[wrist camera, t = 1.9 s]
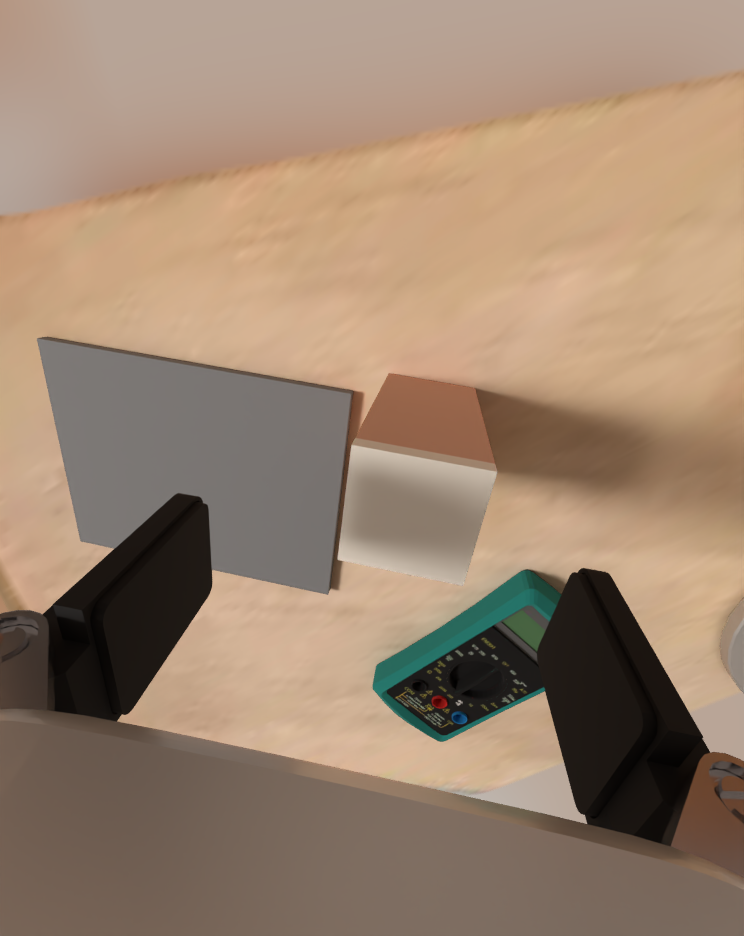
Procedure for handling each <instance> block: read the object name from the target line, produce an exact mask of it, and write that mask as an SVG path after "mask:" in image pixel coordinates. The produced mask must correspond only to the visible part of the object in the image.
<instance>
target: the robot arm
mask: <svg viewBox="0 0 744 936" xmlns="http://www.w3.org/2000/svg"><path fill="white" fill-rule="evenodd" d="M211 588H212V565H211V546H210V526H209V509H208V505H207V504H205V503H203V500H202V498H201V497H198V496H193V495H187V494H182V493H177V494H175V495H174V496H173V497H172V498H171V499H169V500H168V501H167V502H166V503H165V504H164V505H163V506H162V507H161V508H159V509H158V510H157V511H156V512H155V513H154V514H153V515H152V516H151V517H149V518H148V519H147V520H146V521H145V522H144V523H143V524H142V525H141V526H139V527H138V528H137V529H136V530H135V531H134V532H133V533H132V534H131V535H129V536H128V537H127V538H126V539H125V540H124V541H123V542H122V543H121V544H119V545H118V546H117V547H116V548H115V549H114V550H113V551H112V552H111V553H109V554H108V555H107V556H106V557H105V558H104V559H103V560H102V561H101V562H99V563H98V564H97V565H96V566H95V567H94V568H93V569H92V570H91V571H89V572H88V573H87V574H86V575H85V576H84V577H83V578H82V579H81V580H79V581H78V582H77V583H76V584H75V585H74V586H73V587H72V588H71V589H69V590H68V591H67V592H66V593H65V594H64V595H63V596H62V597H61V598H59V599H58V600H57V601H56V602H55V603H54V604H53V605H52V606H51V607H50V608H49V609H48V610H47V611H46V612H45V613H44V614H41V613H38V612H34V611H31V610H17V611H11V612H5V613H2V614H0V936H744V761H742V760H741V759H738V758H736V757H733V756H731V755H728V754H726V753H719V752H712V753H710V751H709V749H708V748H707V746H706V744H705V742H704V741H703V739H702V738H703V736H702V734H701V732H700V731H699V729H698V728H697V726H696V724H695V722H694V720H693V719H692V717H691V715H690V713H689V712H688V710H687V708H686V706H685V705H684V703H683V701H682V699H681V698H680V696H679V694H678V692H677V691H676V689H675V687H674V685H673V684H672V682H671V680H670V678H669V677H668V675H667V673H666V672H665V670H664V668H663V666H662V665H661V663H660V661H659V659H658V658H657V656H656V654H655V652H654V651H653V649H652V647H651V645H650V644H649V642H648V640H647V638H646V637H645V635H644V633H643V631H642V630H641V628H640V626H639V624H638V623H637V621H636V619H635V617H634V616H633V614H632V612H631V611H630V609H629V607H628V605H627V604H626V602H625V600H624V598H623V597H622V595H621V593H620V591H619V590H618V588H617V586H616V584H615V583H614V581H613V579H612V577H611V576H610V575H609V573H606V572H602V571H597V570H591V569H586V568H582V569H580V570H579V571H578V573H575V572H574V573H572V574H571V575H570V577H569V579H568V582H567V584H566V586H565V588H564V590H563V593H562V595H561V597H560V599H559V602H558V604H557V606H556V608H555V610H554V613H553V615H552V617H551V619H550V622H549V624H548V626H547V628H546V630H545V633H544V635H543V637H542V639H541V642H540V644H539V646H538V650H537V662H538V666H539V670H540V673H541V677H542V681H543V685H544V688H545V692H546V696H547V700H548V703H549V707H550V711H551V715H552V718H553V722H554V726H555V730H556V733H557V737H558V741H559V745H560V748H561V752H562V756H563V760H564V763H565V767H566V771H567V775H568V778H569V782H570V786H571V789H572V793H573V797H574V801H575V804H576V807H577V809H578V811H579V812H580V813H581V814H584V815H585V817H586V820H587V824H584V823H580V822H576V821H572V820H567V819H563V818H560V817H555V816H551V815H547V814H543V813H538V812H533V811H529V810H525V809H520V808H516V807H511V806H507V805H503V804H498V803H493V802H489V801H485V800H480V799H475V798H471V797H467V796H462V795H458V794H453V793H449V792H445V791H440V790H436V789H431V788H427V787H422V786H418V785H413V784H409V783H404V782H399V781H395V780H390V779H386V778H381V777H377V776H372V775H367V774H363V773H358V772H354V771H349V770H345V769H340V768H335V767H331V766H326V765H322V764H317V763H312V762H308V761H303V760H299V759H294V758H289V757H285V756H280V755H276V754H271V753H266V752H261V751H257V750H252V749H247V748H243V747H238V746H233V745H228V744H224V743H219V742H214V741H210V740H205V739H200V738H195V737H191V736H186V735H181V734H177V733H172V732H167V731H162V730H158V729H152V728H147V727H142V726H137V725H132V724H126V723H121V722H117V720H118V719H119V718H120V716H121V715H122V714H123V715H126V714H128V713H129V712H130V711H131V710H132V709H133V708H134V706H135V705H136V703H137V702H138V700H139V699H140V697H141V696H142V694H143V693H144V691H145V690H146V688H147V687H148V685H149V684H150V682H151V681H152V679H153V678H154V676H155V675H156V673H157V672H158V671H159V669H160V668H161V666H162V665H163V663H164V662H165V660H166V659H167V657H168V656H169V654H170V653H171V651H172V650H173V648H174V647H175V645H176V644H177V642H178V641H179V639H180V638H181V636H182V635H183V633H184V632H185V630H186V629H187V627H188V626H189V624H190V623H191V621H192V620H193V618H194V617H195V615H196V614H197V612H198V611H199V609H200V608H201V606H202V605H203V603H204V602H205V600H206V599H207V597H208V596H209V594H210V591H211ZM720 653H721V660H722V662H723V664H724V666H725V668H726V671H727V672H728V674H729V675H730V676H731V678H732V679H733V681H734V682H735V683H736V685H737V686H738V688H739V689H740V690H741V691H742V692H743V693H744V598H743V599H742V600H741V601H740V603H739V604H738V605H737V606H736V608H735V609H734V610H733V612H732V613H731V614H730V615H729V617H728V620H727V622H726V624H725V626H724V628H723V630H722V635H721V640H720Z"/></svg>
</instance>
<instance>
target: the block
mask: <svg viewBox="0 0 744 936" xmlns="http://www.w3.org/2000/svg"><path fill="white" fill-rule="evenodd" d="M496 475H497V468H496V465H495V461H494V457H493V453H492V450H491V446H490V442H489V439H488V435H487V431H486V427H485V424H484V420H483V416H482V413H481V409H480V405H479V401H478V398H477V394H476V390H475V388H471V387H466V386H460V385H454V384H448V383H442V382H436V381H431V380H425V379H419V378H413V377H407V376H401V375H396V374H390V373H389V374H388V376H387V378H386V380H385V382H384V384H383V386H382V387H381V389H380V391H379V393H378V395H377V397H376V399H375V401H374V403H373V405H372V407H371V408H370V410H369V412H368V414H367V416H366V418H365V420H364V422H363V424H362V426H361V428H360V429H359V431H358V433H357V435H356V437H355V439H354V441H353V443H352V445H351V453H350V461H349V469H348V477H347V485H346V494H345V502H344V510H343V518H342V526H341V534H340V542H339V551H338V559H337V560H341V561H346V562H350V563H355V564H360V565H365V566H369V567H374V568H379V569H384V570H389V571H393V572H398V573H403V574H408V575H413V576H417V577H422V578H427V579H432V580H436V581H441V582H446V583H451V584H456V585H460V586H463V585H464V582H465V578H466V575H467V572H468V568H469V565H470V562H471V558H472V555H473V552H474V548H475V545H476V542H477V538H478V535H479V532H480V528H481V525H482V522H483V518H484V515H485V512H486V508H487V505H488V502H489V498H490V495H491V492H492V489H493V485H494V482H495V479H496Z"/></svg>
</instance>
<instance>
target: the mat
mask: <svg viewBox="0 0 744 936" xmlns="http://www.w3.org/2000/svg"><path fill="white" fill-rule="evenodd" d="M37 341H38V346H39V351H40V355H41V360H42V364H43V369H44V374H45V378H46V383H47V388H48V392H49V397H50V402H51V406H52V411H53V415H54V420H55V425H56V429H57V434H58V439H59V443H60V448H61V453H62V457H63V462H64V467H65V471H66V476H67V480H68V485H69V490H70V494H71V499H72V504H73V508H74V513H75V518H76V522H77V527H78V531H79V536H80V541H82V542H87V543H91V544H96V545H100V546H105V547H110V548H114V549H115V548H116V547H117V546H118V545H119V544H121V543H122V542H123V541H124V540H125V539H126V538H127V537H128V536H129V535H131V534H132V533H133V532H134V531H135V530H136V529H137V528H138V527H139V526H141V525H142V524H143V523H144V522H145V521H146V520H147V519H148V518H149V517H151V516H152V515H153V514H154V513H155V512H156V511H157V510H158V509H159V508H161V507H162V506H163V505H164V504H165V503H166V502H167V501H168V500H169V499H171V498H172V497H173V496H174V495H175V494H177V493H182V494H187V495H193V496H198V497H201V498H202V500H203V503H205V504H207V505H208V509H209V526H210V546H211V565H212V570H216V571H221V572H225V573H230V574H235V575H239V576H244V577H249V578H253V579H258V580H262V581H267V582H272V583H276V584H281V585H286V586H290V587H295V588H300V589H304V590H309V591H313V592H318V593H323V594H327V595H328V593H329V590H330V586H331V577H332V569H333V560H334V552H335V543H336V534H337V526H338V517H339V509H340V500H341V492H342V483H343V475H344V466H345V458H346V449H347V441H348V432H349V424H350V415H351V407H352V398H353V391H351V390H345V389H339V388H334V387H328V386H322V385H317V384H311V383H305V382H300V381H294V380H288V379H283V378H277V377H271V376H266V375H260V374H254V373H249V372H243V371H237V370H231V369H226V368H220V367H214V366H209V365H203V364H197V363H192V362H186V361H180V360H175V359H169V358H163V357H158V356H152V355H146V354H141V353H135V352H129V351H124V350H118V349H112V348H107V347H101V346H95V345H89V344H84V343H78V342H72V341H67V340H61V339H55V338H50V337H42V338H37Z"/></svg>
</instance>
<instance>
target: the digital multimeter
mask: <svg viewBox="0 0 744 936" xmlns="http://www.w3.org/2000/svg"><path fill="white" fill-rule="evenodd" d="M560 597H561V594H560V593H559V592H558V591H556V590H555V589H554V588H553V587H551V586H550V585H549V584H548V583H546V582H545V581H544V580H542V579H541V578H540V577H539V576H537V575H536V574H535V573H533V572H531V571H530V570H524V571H521V572H519V573H518V574H517V575H515V576H514V577H512V578H511V579H510V580H508V581H507V582H505V583H504V584H503V585H501V586H500V587H498V588H497V589H496V590H494V591H493V592H492V593H490V594H489V595H487V596H486V597H485V598H483V599H482V600H481V601H479V602H478V603H476V604H475V605H474V606H472V607H470V608H469V609H467V610H466V611H464V612H463V613H461V614H460V615H458V616H457V617H455V618H454V619H452V620H451V621H449V622H448V623H446V624H445V625H443V626H442V627H440V628H439V629H437V630H435V631H434V632H432V633H430V634H429V635H427V636H425V637H424V638H422V639H420V640H419V641H417V642H415V643H414V644H412V645H411V646H409V647H407V648H406V649H404V650H403V651H401V652H399V653H397V654H395V655H394V656H392V657H390V658H388V659H386V660H385V661H383V662H381V663H379V664H378V665H377V666H376V670H375V676H374V681H373V690H374V691H375V692H376V693H377V694H378V696H379V697H380V698H381V699H382V700H383V701H384V703H385V704H386V705H387V706H388V707H389V708H390V709H391V710H392V711H393V712H394V713H396V714H397V715H398V716H399V717H401V718H402V719H403V720H405V721H406V722H407V723H409V724H411V725H412V726H414V727H415V728H417V729H419V730H420V731H422V732H423V733H425V734H427V735H428V736H430V737H432V738H434V739H435V740H437V741H440V742H443V741H446V740H448V739H450V738H452V737H454V736H456V735H458V734H460V733H462V732H464V731H466V730H468V729H470V728H471V727H473V726H475V725H477V724H479V723H481V722H483V721H485V720H487V719H489V718H491V717H493V716H495V715H497V714H499V713H501V712H503V711H505V710H507V709H509V708H511V707H513V706H515V705H517V704H519V703H521V702H523V701H525V700H527V699H530V698H532V697H534V696H536V695H538V694H540V693H542V692H544V691H545V688H544V685H543V681H542V677H541V673H540V670H539V666H538V662H537V650H538V646H539V644H540V642H541V639H542V637H543V635H544V633H545V630H546V628H547V626H548V624H549V622H550V619H551V617H552V615H553V613H554V610H555V608H556V606H557V604H558V602H559V599H560ZM486 629H487V630H486ZM481 632H482V633H481ZM476 635H477V636H476ZM473 637H474V638H473ZM471 638H472V639H471ZM468 640H469V641H468ZM466 641H467V642H466ZM463 643H464V644H463ZM461 644H462V645H461ZM458 646H459V647H458ZM456 647H457V648H456ZM453 649H454V650H453ZM451 650H452V651H451ZM448 652H449V653H448ZM446 653H447V654H446ZM443 655H444V656H443ZM441 656H442V657H441ZM438 658H439V659H438ZM436 659H437V660H436ZM433 661H434V662H433ZM428 664H429V665H428ZM449 669H450V670H449ZM447 673H448V674H447ZM410 675H411V676H410ZM405 678H406V679H405Z"/></svg>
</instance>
